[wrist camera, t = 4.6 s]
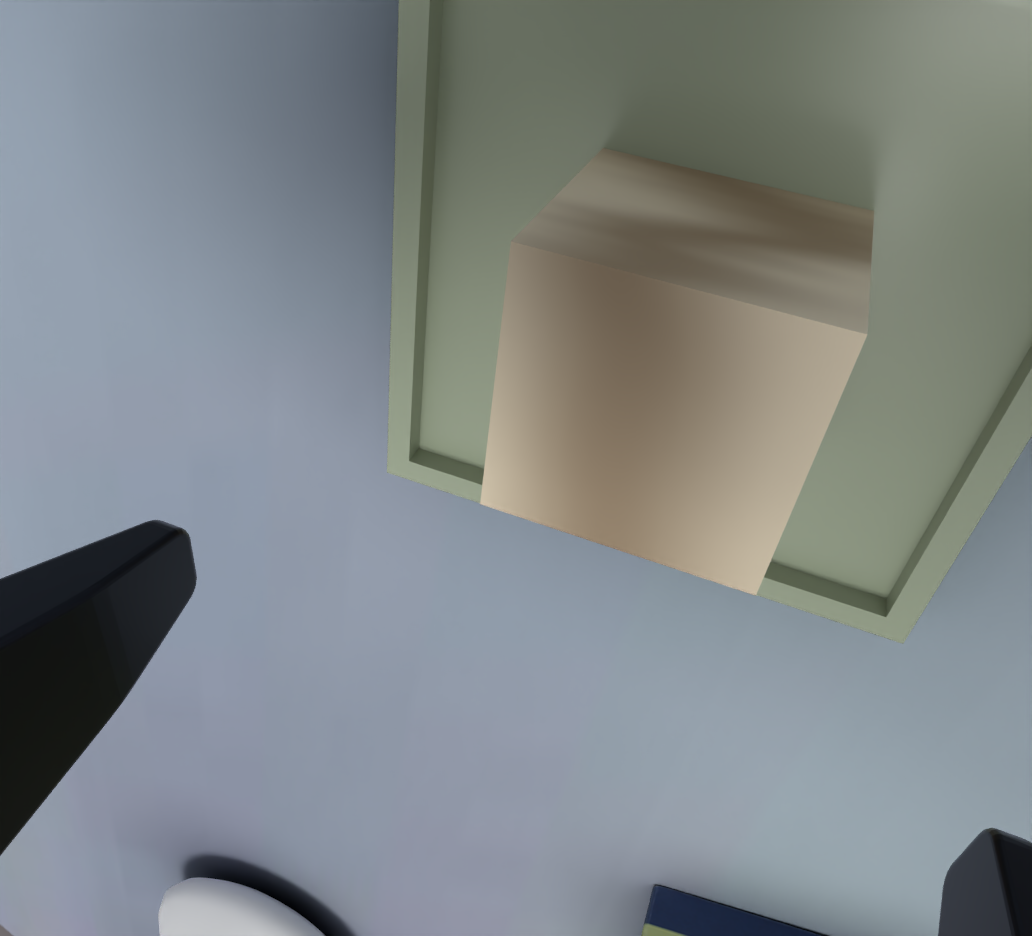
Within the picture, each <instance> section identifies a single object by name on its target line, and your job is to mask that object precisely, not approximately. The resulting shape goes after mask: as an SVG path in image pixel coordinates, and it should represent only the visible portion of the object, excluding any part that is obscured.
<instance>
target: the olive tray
mask: <svg viewBox="0 0 1032 936" xmlns="http://www.w3.org/2000/svg"><path fill="white" fill-rule="evenodd" d="M602 148H605V149H610V150H614V151H618V152H623V153H627V154H631V155H636V156H640V157H644V158H648V159H653V160H657V161H661V162H666V163H670V164H674V165H679V166H683V167H687V168H691V169H696V170H700V171H704V172H709V173H713V174H717V175H722V176H726V177H730V178H735V179H739V180H743V181H747V182H752V183H756V184H760V185H765V186H769V187H773V188H778V189H782V190H786V191H790V192H795V193H799V194H803V195H808V196H812V197H816V198H821V199H825V200H829V201H834V202H838V203H842V204H846V205H851V206H855V207H859V208H864V209H868V210H872V211H874V225H873V243H872V261H871V280H870V298H869V316H868V334H867V337H866V339H865V342H864V344H863V346H862V349H861V351H860V353H859V356H858V358H857V360H856V363H855V365H854V367H853V370H852V372H851V374H850V377H849V379H848V381H847V384H846V386H845V388H844V391H843V393H842V395H841V398H840V400H839V402H838V405H837V407H836V409H835V412H834V414H833V416H832V419H831V421H830V424H829V426H828V428H827V431H826V433H825V435H824V438H823V440H822V442H821V445H820V447H819V449H818V452H817V454H816V456H815V459H814V461H813V463H812V466H811V468H810V470H809V473H808V475H807V477H806V480H805V482H804V484H803V487H802V489H801V491H800V494H799V496H798V498H797V501H796V503H795V505H794V508H793V510H792V512H791V515H790V517H789V519H788V522H787V524H786V526H785V529H784V531H783V533H782V536H781V538H780V540H779V543H778V545H777V547H776V550H775V552H774V554H773V557H772V559H771V561H770V564H769V566H768V568H767V571H766V573H765V576H764V578H763V580H762V583H761V585H760V587H759V590H758V592H757V594H756V595H758V596H761V597H764V598H767V599H770V600H773V601H776V602H779V603H782V604H785V605H788V606H791V607H794V608H797V609H800V610H803V611H806V612H809V613H812V614H815V615H818V616H821V617H824V618H827V619H830V620H833V621H836V622H839V623H842V624H845V625H848V626H851V627H854V628H857V629H860V630H863V631H866V632H869V633H872V634H875V635H878V636H881V637H884V638H887V639H890V640H893V641H896V642H899V643H902V644H903V643H904V641H905V640H906V638H907V637H908V635H909V633H910V632H911V630H912V628H913V627H914V625H915V624H916V622H917V620H918V619H919V617H920V616H921V614H922V612H923V611H924V609H925V607H926V606H927V604H928V603H929V601H930V599H931V598H932V596H933V595H934V593H935V591H936V590H937V588H938V586H939V585H940V583H941V582H942V580H943V578H944V577H945V575H946V574H947V572H948V570H949V569H950V567H951V565H952V564H953V562H954V561H955V559H956V557H957V556H958V554H959V553H960V551H961V549H962V548H963V546H964V544H965V543H966V541H967V540H968V538H969V536H970V535H971V533H972V532H973V530H974V528H975V527H976V525H977V523H978V522H979V520H980V519H981V517H982V515H983V514H984V512H985V511H986V509H987V507H988V506H989V504H990V502H991V501H992V499H993V498H994V496H995V494H996V493H997V491H998V490H999V488H1000V486H1001V485H1002V483H1003V481H1004V480H1005V478H1006V477H1007V475H1008V473H1009V472H1010V470H1011V469H1012V467H1013V465H1014V464H1015V462H1016V461H1017V459H1018V457H1019V456H1020V454H1021V452H1022V451H1023V449H1024V448H1025V446H1026V444H1027V443H1028V441H1029V440H1030V438H1031V436H1032V0H399V11H398V52H397V92H396V132H395V173H394V213H393V253H392V294H391V334H390V375H389V415H388V455H387V473H390V474H393V475H396V476H399V477H402V478H405V479H408V480H411V481H414V482H417V483H420V484H423V485H426V486H429V487H433V488H436V489H439V490H442V491H445V492H448V493H451V494H454V495H457V496H460V497H463V498H466V499H469V500H472V501H475V502H478V503H480V501H481V492H482V483H483V475H484V466H485V458H486V449H487V441H488V432H489V424H490V415H491V407H492V398H493V390H494V381H495V373H496V364H497V355H498V347H499V338H500V330H501V321H502V313H503V304H504V296H505V287H506V279H507V270H508V262H509V253H510V245H511V241H512V240H513V239H514V238H515V237H516V236H517V235H518V234H519V233H520V232H521V231H522V230H523V229H524V228H525V226H526V225H527V224H528V223H529V222H530V221H531V220H532V219H533V218H534V217H535V216H536V215H537V214H538V213H539V212H540V211H541V210H542V209H543V208H544V207H545V206H546V205H547V204H548V203H549V202H550V201H551V200H552V199H553V198H554V197H555V196H556V195H557V194H558V193H559V192H560V191H561V190H562V189H563V188H564V187H565V186H566V185H567V184H568V183H569V182H570V181H571V180H572V179H573V178H574V177H575V176H576V175H577V174H578V173H579V172H580V171H581V170H582V169H583V168H584V167H585V166H586V165H587V164H588V163H589V162H590V161H591V160H592V159H593V158H594V157H595V156H596V155H597V154H598V152H599V151H600V150H601V149H602Z"/></svg>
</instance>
